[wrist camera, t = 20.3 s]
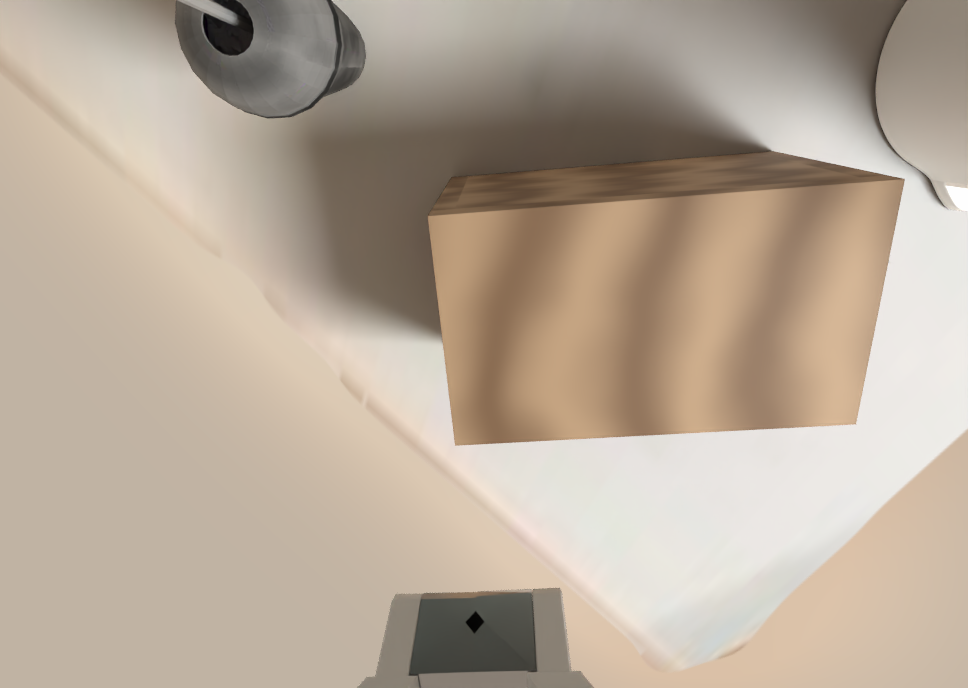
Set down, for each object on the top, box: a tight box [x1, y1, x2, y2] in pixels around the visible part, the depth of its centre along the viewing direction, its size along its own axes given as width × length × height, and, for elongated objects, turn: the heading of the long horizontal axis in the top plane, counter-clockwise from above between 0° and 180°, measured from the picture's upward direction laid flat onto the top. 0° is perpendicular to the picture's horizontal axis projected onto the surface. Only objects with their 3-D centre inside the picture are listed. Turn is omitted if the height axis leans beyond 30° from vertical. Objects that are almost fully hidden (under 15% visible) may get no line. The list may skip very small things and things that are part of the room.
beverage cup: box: [175, 0, 366, 118], centre depth 28 cm, size 7×7×20 cm
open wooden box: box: [428, 151, 905, 446], centre depth 36 cm, size 22×13×14 cm, turn 95°
